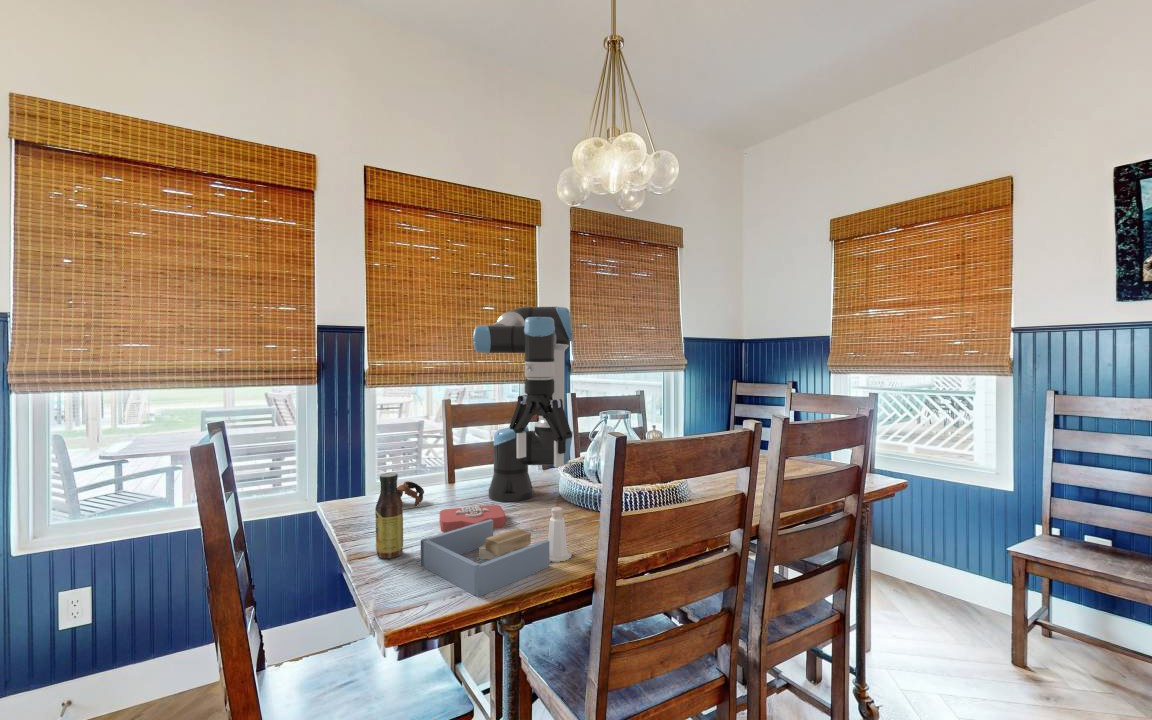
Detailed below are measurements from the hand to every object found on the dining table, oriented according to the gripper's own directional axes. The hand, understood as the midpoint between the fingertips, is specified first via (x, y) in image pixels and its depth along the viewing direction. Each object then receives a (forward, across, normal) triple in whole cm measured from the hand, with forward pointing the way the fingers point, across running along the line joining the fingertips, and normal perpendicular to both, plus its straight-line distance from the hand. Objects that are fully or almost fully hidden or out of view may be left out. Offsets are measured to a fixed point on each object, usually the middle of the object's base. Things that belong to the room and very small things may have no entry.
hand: (539, 461), depth 131 cm
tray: (+21, 0, -17) cm, 27 cm away
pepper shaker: (+21, +8, -2) cm, 23 cm away
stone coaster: (+21, +8, -2) cm, 23 cm away
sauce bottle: (+22, -22, -29) cm, 42 cm away
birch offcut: (+22, 0, -10) cm, 24 cm away
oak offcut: (+19, 0, -10) cm, 21 cm away
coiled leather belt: (+23, -56, -6) cm, 61 cm away
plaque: (+23, -25, -2) cm, 34 cm away
